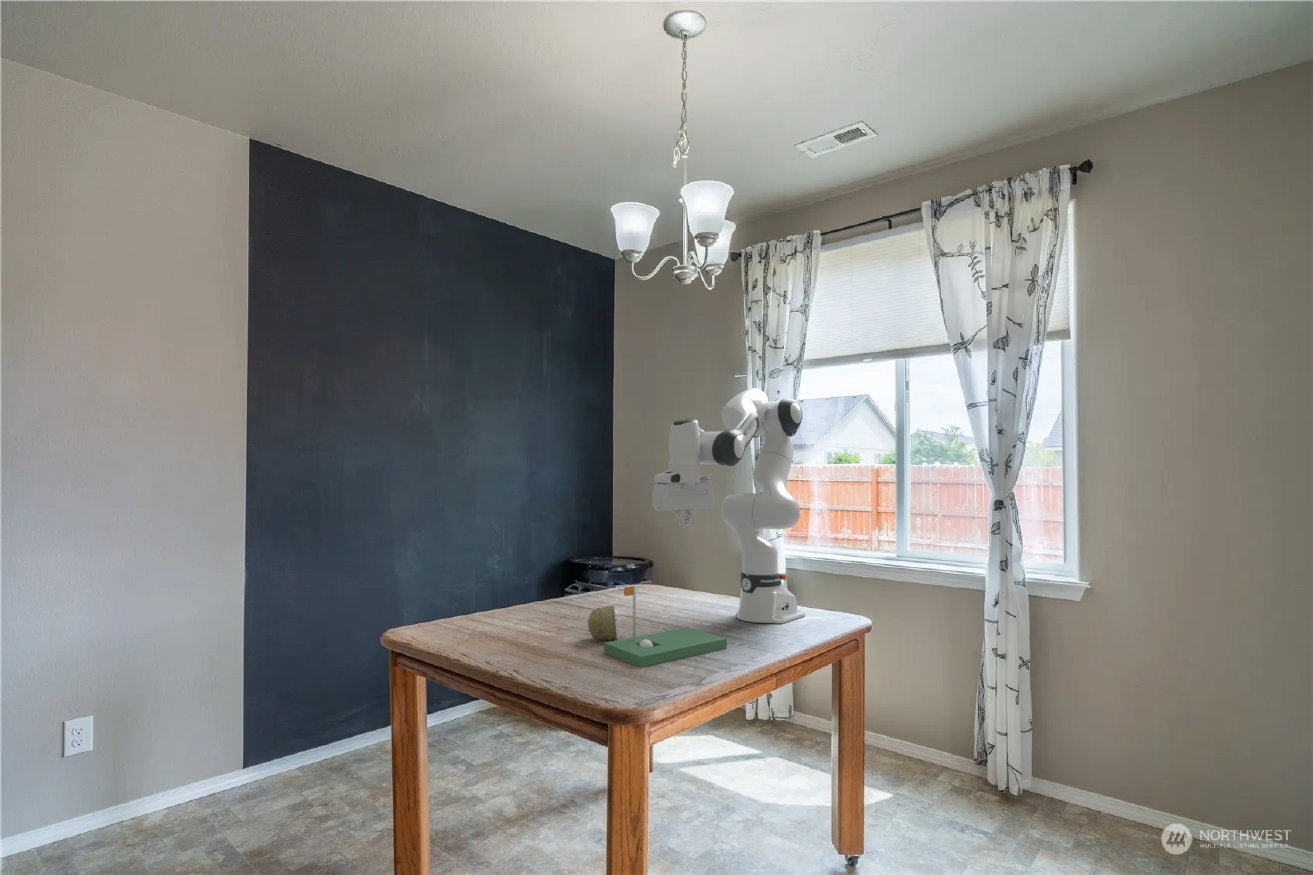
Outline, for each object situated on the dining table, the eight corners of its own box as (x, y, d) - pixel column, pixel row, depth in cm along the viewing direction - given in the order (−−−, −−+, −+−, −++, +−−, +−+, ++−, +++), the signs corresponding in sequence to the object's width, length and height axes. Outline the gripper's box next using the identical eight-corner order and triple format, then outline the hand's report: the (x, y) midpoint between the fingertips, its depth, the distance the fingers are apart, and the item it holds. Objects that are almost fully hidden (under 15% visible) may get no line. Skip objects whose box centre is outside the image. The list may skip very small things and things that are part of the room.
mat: (687, 635, 194) (687, 576, 195) (726, 648, 182) (726, 585, 182) (604, 652, 177) (604, 588, 178) (641, 667, 165) (641, 597, 165)
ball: (649, 640, 178) (639, 636, 177) (657, 643, 176) (647, 639, 174) (644, 654, 177) (634, 650, 176) (652, 657, 175) (642, 653, 173)
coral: (628, 618, 185) (594, 603, 185) (613, 652, 186) (579, 637, 186) (630, 608, 195) (598, 594, 195) (616, 640, 196) (584, 626, 196)
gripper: (705, 475, 203) (705, 522, 202) (649, 476, 190) (649, 526, 190) (719, 476, 198) (719, 524, 197) (663, 477, 185) (663, 528, 185)
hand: (684, 525), depth 193 cm, fingers closed
